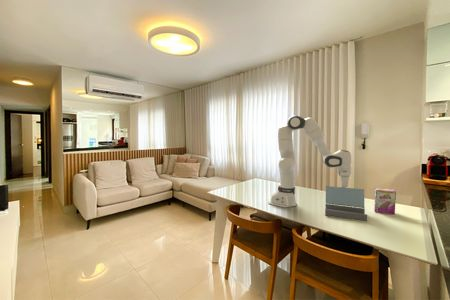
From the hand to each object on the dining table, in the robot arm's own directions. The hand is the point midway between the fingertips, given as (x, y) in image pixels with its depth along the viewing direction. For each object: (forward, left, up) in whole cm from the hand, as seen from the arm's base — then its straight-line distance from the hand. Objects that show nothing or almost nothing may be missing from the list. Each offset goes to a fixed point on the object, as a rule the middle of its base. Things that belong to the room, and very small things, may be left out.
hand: (343, 189), depth 151 cm
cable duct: (0, -15, -14) cm, 20 cm away
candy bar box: (+25, +1, -14) cm, 29 cm away
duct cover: (0, -7, -3) cm, 7 cm away
